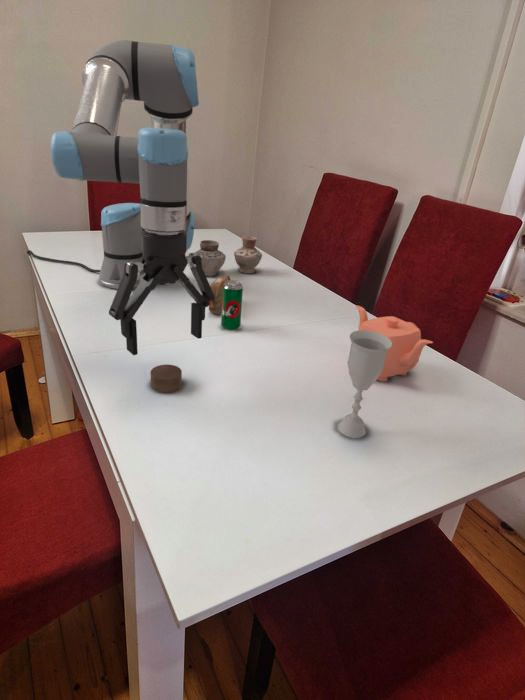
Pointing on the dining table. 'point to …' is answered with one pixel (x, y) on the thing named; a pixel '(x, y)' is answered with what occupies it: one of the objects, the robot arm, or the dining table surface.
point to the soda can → (231, 304)
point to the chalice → (363, 374)
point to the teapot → (396, 342)
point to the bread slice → (217, 294)
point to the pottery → (215, 259)
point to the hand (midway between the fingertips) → (165, 343)
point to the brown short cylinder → (166, 378)
